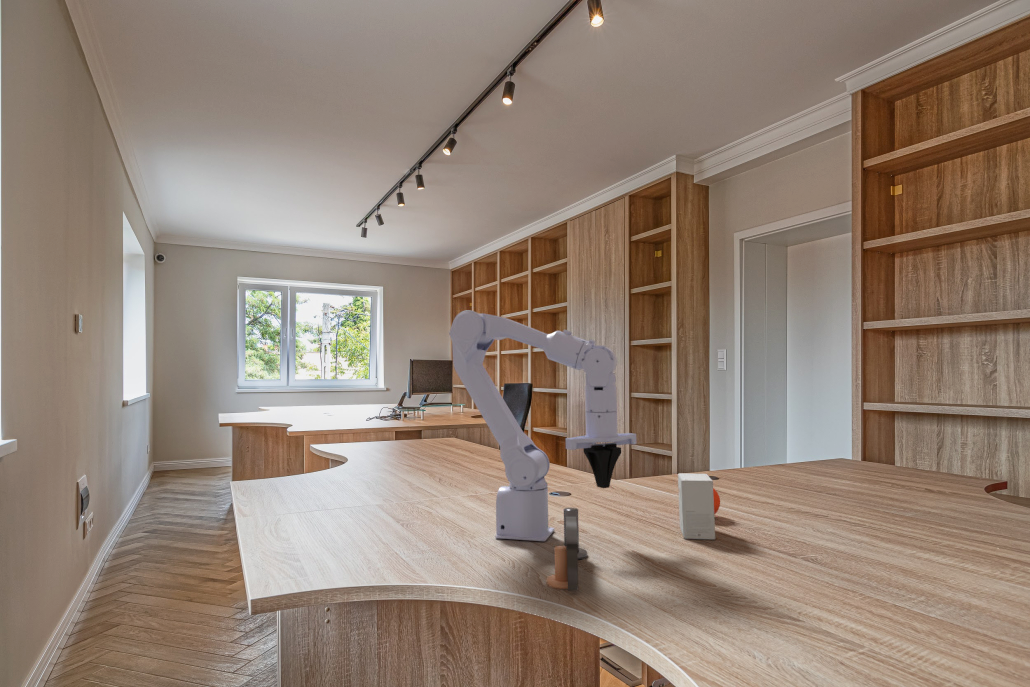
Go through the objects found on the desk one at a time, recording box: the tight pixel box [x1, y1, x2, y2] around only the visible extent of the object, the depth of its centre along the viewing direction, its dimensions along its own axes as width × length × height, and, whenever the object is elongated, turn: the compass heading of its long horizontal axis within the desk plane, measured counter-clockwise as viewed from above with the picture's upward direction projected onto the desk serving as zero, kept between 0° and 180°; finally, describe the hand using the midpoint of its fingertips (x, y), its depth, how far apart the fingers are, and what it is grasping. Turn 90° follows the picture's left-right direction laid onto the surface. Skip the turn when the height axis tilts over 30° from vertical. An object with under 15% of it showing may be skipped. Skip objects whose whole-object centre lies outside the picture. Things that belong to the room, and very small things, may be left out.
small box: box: [677, 472, 716, 540], centre depth 106 cm, size 8×6×10 cm
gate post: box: [563, 507, 588, 561], centre depth 95 cm, size 5×5×8 cm
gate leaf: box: [566, 517, 579, 592], centre depth 85 cm, size 15×2×6 cm, turn 175°
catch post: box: [546, 545, 568, 590], centre depth 82 cm, size 4×4×5 cm
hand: (603, 487), depth 103 cm, fingers closed
